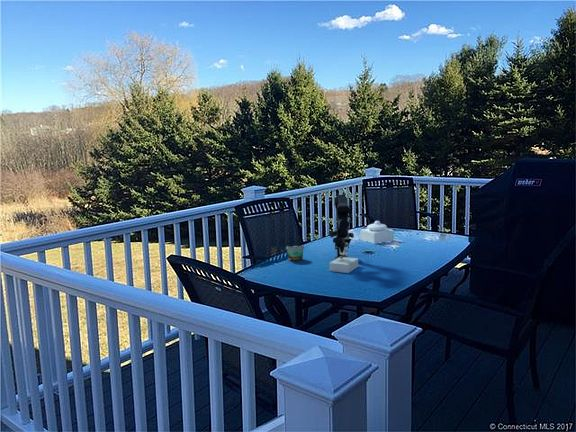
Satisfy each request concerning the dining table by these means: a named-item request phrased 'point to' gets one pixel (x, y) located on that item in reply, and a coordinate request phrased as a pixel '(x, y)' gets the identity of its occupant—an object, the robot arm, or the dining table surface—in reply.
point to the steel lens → (345, 250)
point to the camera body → (343, 264)
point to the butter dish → (377, 233)
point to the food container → (295, 253)
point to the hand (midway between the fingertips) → (343, 251)
